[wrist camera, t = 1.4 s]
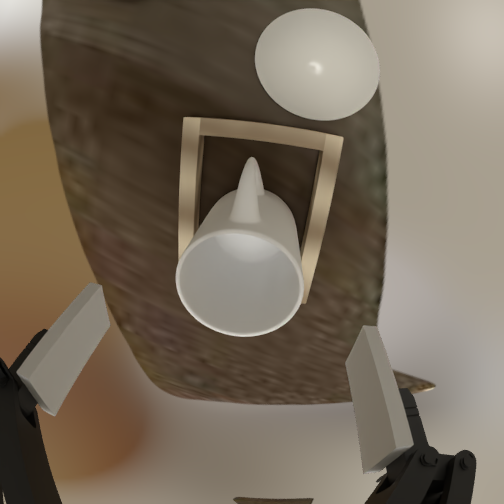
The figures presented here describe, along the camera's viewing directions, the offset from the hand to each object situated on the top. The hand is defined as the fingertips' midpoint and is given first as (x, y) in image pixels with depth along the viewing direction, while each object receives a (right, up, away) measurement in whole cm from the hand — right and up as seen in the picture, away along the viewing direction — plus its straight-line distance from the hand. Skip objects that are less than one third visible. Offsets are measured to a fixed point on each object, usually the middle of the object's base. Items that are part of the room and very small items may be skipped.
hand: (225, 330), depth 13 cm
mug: (+1, +8, +14) cm, 16 cm away
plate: (+7, +20, +7) cm, 22 cm away
